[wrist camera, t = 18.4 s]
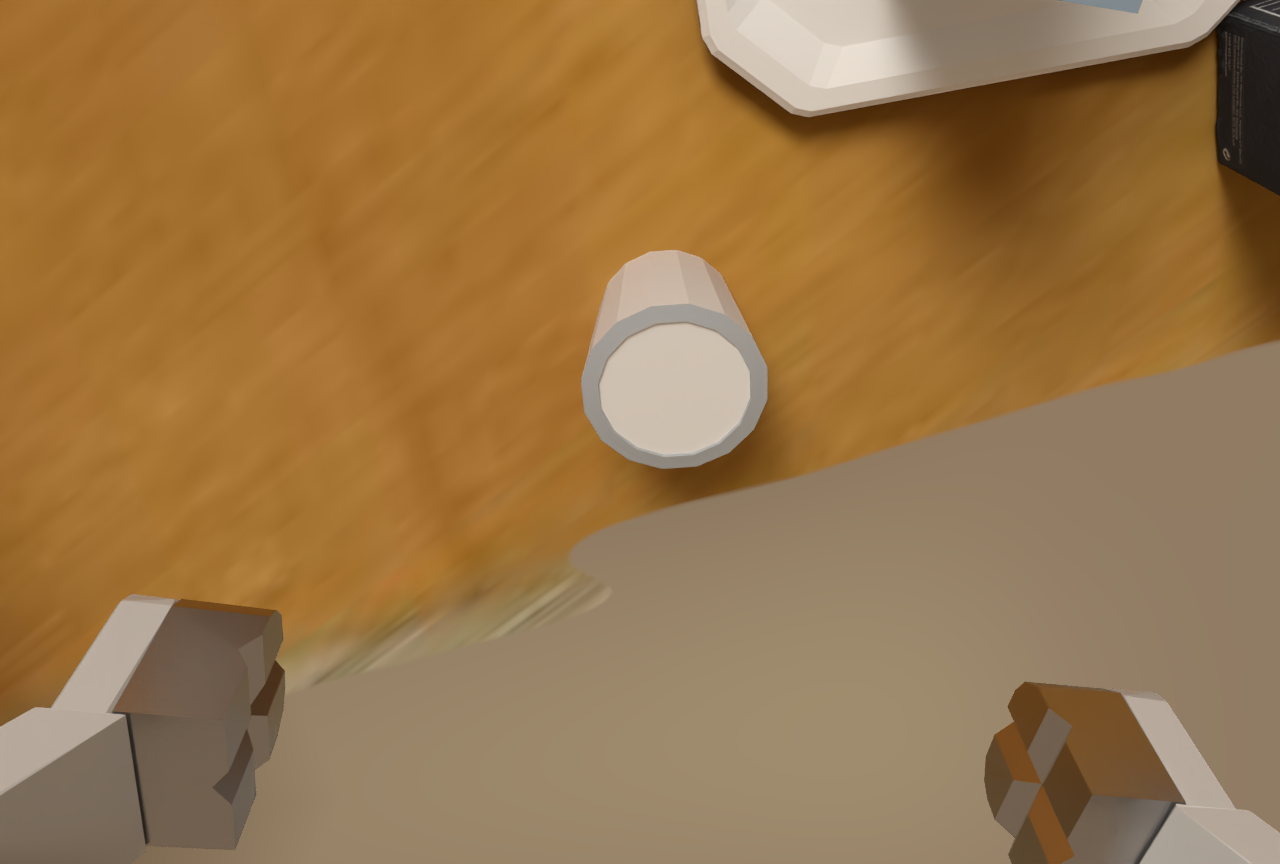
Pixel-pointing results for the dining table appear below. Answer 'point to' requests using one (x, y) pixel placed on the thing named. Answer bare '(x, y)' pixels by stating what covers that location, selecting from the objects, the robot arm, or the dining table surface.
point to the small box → (1250, 91)
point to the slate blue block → (1111, 4)
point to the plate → (930, 43)
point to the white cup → (672, 364)
